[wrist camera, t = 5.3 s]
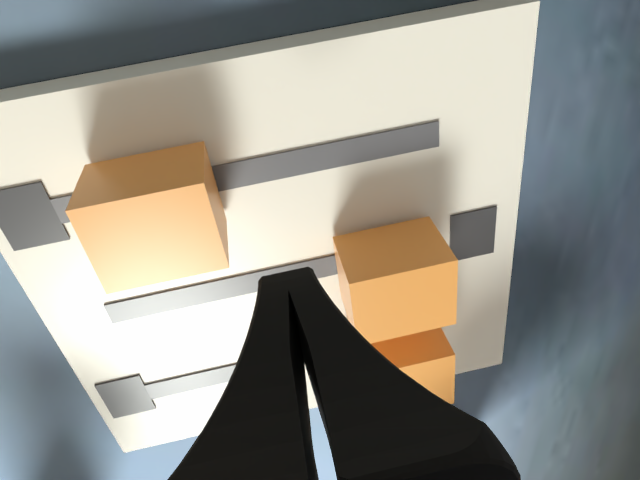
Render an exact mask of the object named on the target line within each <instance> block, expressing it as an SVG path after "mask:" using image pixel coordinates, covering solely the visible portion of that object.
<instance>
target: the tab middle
mask: <svg viewBox="0 0 640 480" xmlns="http://www.w3.org/2000/svg"><path fill="white" fill-rule="evenodd" d="M332 238H333V245H334V252H335V259H336V266H337V272H338V279H339V286H340V293H341V298H342V301H343V304H344V307H345V310H346V314H347V317H348V320H349V322H350V323H351V324H352V325H353V326H354V327H355V328H356V329H357V331H358V332H359V333H360V334H361V335H362V336H363V337H364V338H365V339H366V340H367V341H368V342H369V343H370V344H371V343H375V342H380V341H384V340H388V339H393V338H397V337H401V336H406V335H410V334H415V333H419V332H423V331H428V330H432V329H436V328H441V327H445V326H449V325H454V324H456V317H457V281H458V259H457V258H456V256H455V255H454V253H453V252H452V250H451V249H450V247H449V246H448V244H447V243H446V241H445V240H444V238H443V237H442V235H441V234H440V232H439V231H438V229H437V228H436V226H435V224H434V223H433V221H432V220H431V218H430V217H429V216H428V217H423V218H419V219H414V220H409V221H405V222H400V223H395V224H391V225H386V226H381V227H376V228H372V229H367V230H362V231H358V232H353V233H348V234H344V235H339V236H334V237H332Z"/></svg>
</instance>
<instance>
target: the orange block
mask: <svg viewBox="0 0 640 480" xmlns="http://www.w3.org/2000/svg"><path fill="white" fill-rule="evenodd" d="M65 212H66V214H67V216H68V218H69V220H70V222H71V224H72V226H73V228H74V230H75V232H76V234H77V236H78V238H79V240H80V242H81V244H82V246H83V248H84V250H85V252H86V254H87V256H88V258H89V260H90V262H91V264H92V266H93V268H94V270H95V272H96V274H97V276H98V278H99V280H100V282H101V284H102V286H103V289H104V291H105V293H106V294H110V293H115V292H120V291H124V290H129V289H134V288H138V287H143V286H148V285H152V284H157V283H161V282H166V281H171V280H175V279H180V278H185V277H189V276H194V275H199V274H203V273H208V272H213V271H217V270H222V269H226V268H229V253H228V236H227V219H226V216H225V212H224V209H223V205H222V202H221V198H220V195H219V191H218V188H217V184H216V181H215V177H214V174H213V170H212V167H211V163H210V160H209V156H208V153H207V149H206V146H205V142H204V141H202V142H197V143H192V144H187V145H182V146H177V147H172V148H167V149H162V150H157V151H152V152H147V153H141V154H136V155H131V156H126V157H121V158H116V159H111V160H106V161H101V162H96V163H91V164H86V165H84V168H83V170H82V173H81V175H80V177H79V180H78V182H77V184H76V187H75V189H74V191H73V194H72V196H71V198H70V201H69V203H68V206H67V208H66V210H65Z"/></svg>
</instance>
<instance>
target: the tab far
mask: <svg viewBox="0 0 640 480" xmlns="http://www.w3.org/2000/svg"><path fill="white" fill-rule="evenodd" d="M371 345H372V346H373V347H374V348H375V349H377V350H378V351H379V352H380V353H381V354H382V355H383V356H384V357H386V358H387V359H388V360H389V361H390V362H391V363H393V364H394V365H395V366H396V367H398V368H399V369H400V370H401V371H403V372H404V373H405V374H407V375H408V376H409V377H411V378H412V379H414V380H415V381H416V382H418V383H419V384H421V385H422V386H423V387H425V388H426V389H428V390H429V391H430V392H432V393H433V394H435V395H437V396H438V397H440V398H441V399H443V400H445V401H446V402H448V403H449V404H453V403H454V390H455V353H454V351H453V349H452V347H451V345H450V344H449V342H448V340H447V338H446V336H445V334H444V332H443V330H442V328H436V329H432V330H428V331H423V332H419V333H415V334H410V335H406V336H401V337H397V338H393V339H388V340H384V341H380V342H375V343H371Z"/></svg>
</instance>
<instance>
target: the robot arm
mask: <svg viewBox="0 0 640 480" xmlns="http://www.w3.org/2000/svg"><path fill="white" fill-rule="evenodd" d="M304 363H305V364H304ZM305 366H306V370H307V373H308V376H309V379H310V382H311V386H312V389H313V392H314V395H315V399H316V402H317V405H318V408H319V411H320V415H321V418H322V421H323V424H324V427H325V431H326V434H327V437H328V441H329V445H330V449H331V453H332V457H333V462H334V467H335V471H336V476H337V480H521V479H520V474H519V472H518V470H517V468H516V465H515V464H514V462H513V460H512V459H511V457H510V456H509V454H508V453H507V451H506V450H505V448H504V447H503V445H502V444H501V443H500V441H499V440H498V438H497V437H496V436H495V435H494V433H493V432H492V431H491V430H490V428H489V427H488V426H487V425H486V424H485V423H484V422H482V421H480V420H478V419H476V418H474V417H472V416H471V415H469V414H467V413H465V412H463V411H462V410H460V409H458V408H456V407H455V406H453V405H451V404H449V403H448V402H446V401H445V400H443V399H441V398H440V397H438V396H437V395H435V394H433V393H432V392H430V391H429V390H428V389H426V388H425V387H423V386H422V385H421V384H419V383H418V382H416V381H415V380H414V379H412V378H411V377H409V376H408V375H407V374H405V373H404V372H403V371H401V370H400V369H399V368H398V367H396V366H395V365H394V364H393V363H391V362H390V361H389V360H388V359H387V358H386V357H384V356H383V355H382V354H381V353H380V352H379V351H378V350H377V349H375V348H374V347H373V346H372V345H371V344H370V343H369V342H368V341H367V340H366V339H365V338H364V337H363V336H362V335H361V334H360V333H359V332H358V331H357V329H356V328H355V327H354V326H353V325H352V324H351V323H350V322H349V321H348V320H347V318H346V317H345V316H344V315H343V314H342V312H341V311H340V310H339V309H338V307H337V306H336V305H335V304H334V302H333V301H332V300H331V298H330V297H329V296H328V294H327V293H326V291H325V290H324V288H323V287H322V285H321V284H320V282H319V280H318V279H317V277H316V275H315V273H314V270H313V269H312V268H310V267H304V268H299V269H294V270H290V271H285V272H280V273H276V274H271V275H266V276H262V277H261V278H260V279H259V281H258V291H257V297H256V303H255V307H254V311H253V315H252V319H251V322H250V326H249V329H248V333H247V336H246V339H245V342H244V345H243V347H242V350H241V353H240V355H239V358H238V361H237V363H236V366H235V368H234V371H233V373H232V375H231V377H230V380H229V382H228V384H227V386H226V388H225V390H224V392H223V394H222V396H221V398H220V400H219V402H218V404H217V406H216V407H215V409H214V411H213V413H212V415H211V417H210V418H209V420H208V422H207V423H206V425H205V427H204V428H203V430H202V432H201V433H200V435H199V436H198V438H197V439H196V441H195V442H194V444H193V445H192V447H191V448H190V450H189V451H188V453H187V454H186V456H185V457H184V459H183V460H182V462H181V463H180V464H179V466H178V467H177V468H176V470H175V471H174V472H173V474H172V475H171V476H170V477H169V479H168V480H319V479H318V474H317V469H316V463H315V458H314V452H313V445H312V437H311V426H310V416H309V406H308V395H307V385H306V375H305Z"/></svg>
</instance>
